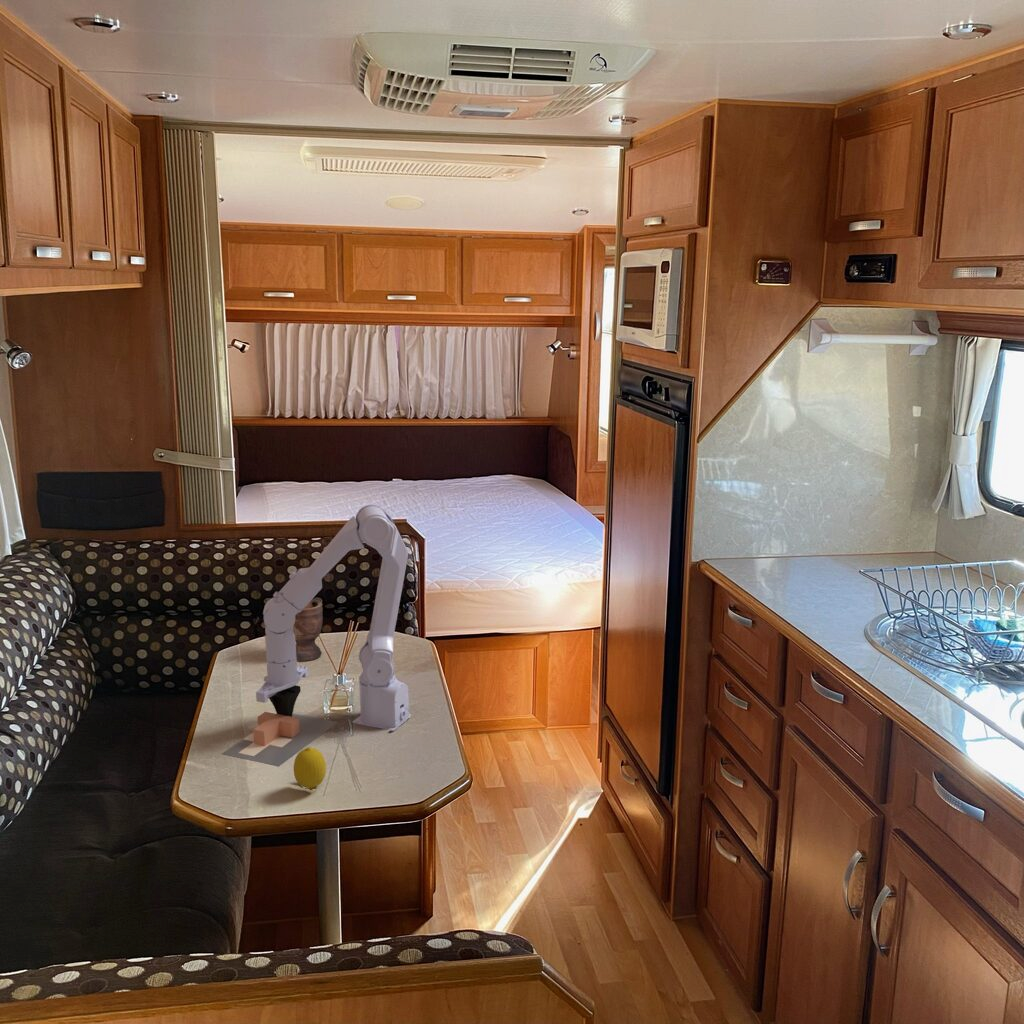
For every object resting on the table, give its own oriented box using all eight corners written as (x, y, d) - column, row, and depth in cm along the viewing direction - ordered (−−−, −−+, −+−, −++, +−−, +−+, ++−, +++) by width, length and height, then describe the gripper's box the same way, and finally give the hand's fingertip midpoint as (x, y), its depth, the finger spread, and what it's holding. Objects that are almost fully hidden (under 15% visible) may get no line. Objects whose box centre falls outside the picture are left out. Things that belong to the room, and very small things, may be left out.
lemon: (313, 778, 175) (310, 737, 173) (333, 788, 171) (331, 746, 170) (288, 790, 171) (285, 748, 169) (308, 800, 167) (306, 757, 165)
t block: (266, 725, 194) (265, 711, 194) (299, 732, 191) (299, 718, 191) (242, 741, 188) (241, 726, 187) (276, 748, 185) (276, 734, 184)
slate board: (338, 724, 196) (338, 722, 196) (279, 769, 178) (279, 766, 178) (284, 714, 201) (284, 711, 201) (221, 756, 183) (221, 753, 183)
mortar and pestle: (287, 646, 239) (282, 568, 235) (322, 643, 241) (319, 566, 237) (288, 663, 228) (283, 582, 224) (325, 660, 230) (321, 579, 226)
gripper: (286, 643, 199) (289, 704, 202) (241, 668, 186) (245, 733, 189) (315, 647, 196) (318, 710, 199) (272, 673, 183) (276, 740, 186)
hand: (285, 722), depth 194 cm, fingers closed
